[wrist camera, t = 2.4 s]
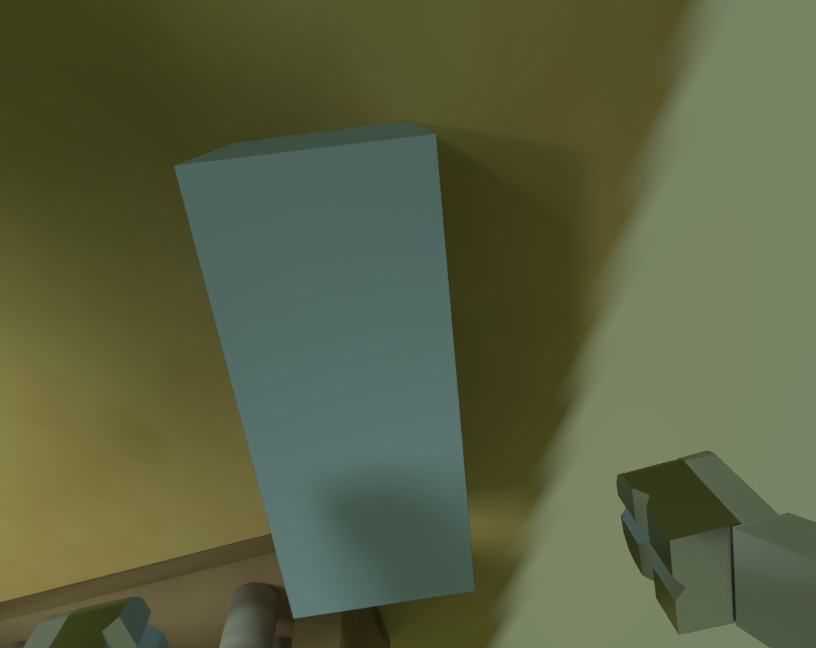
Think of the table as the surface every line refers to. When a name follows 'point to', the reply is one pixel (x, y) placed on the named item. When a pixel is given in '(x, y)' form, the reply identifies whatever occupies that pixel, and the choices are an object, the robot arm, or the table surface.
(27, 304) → the table surface
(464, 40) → the table surface
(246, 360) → the pale blue block
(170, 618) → the peg stand
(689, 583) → the robot arm
